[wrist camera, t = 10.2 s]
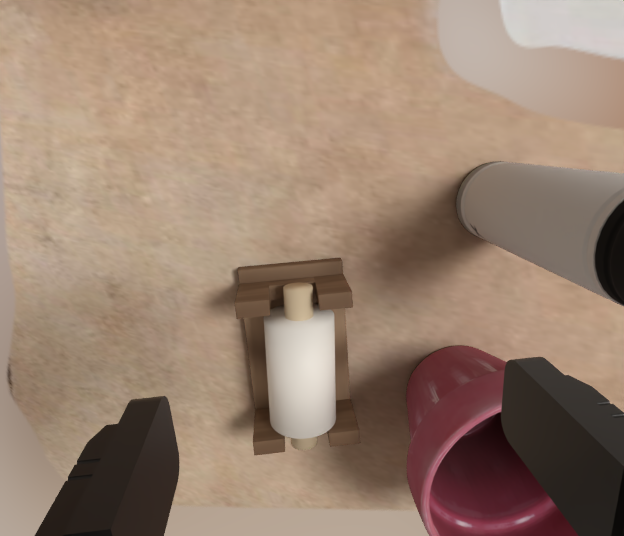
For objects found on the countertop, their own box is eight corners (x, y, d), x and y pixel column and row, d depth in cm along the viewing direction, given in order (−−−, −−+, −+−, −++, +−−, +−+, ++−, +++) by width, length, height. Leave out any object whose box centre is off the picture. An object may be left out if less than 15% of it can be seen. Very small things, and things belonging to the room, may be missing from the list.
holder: (238, 267, 37) (232, 288, 32) (340, 257, 37) (351, 277, 32) (258, 424, 41) (256, 466, 36) (349, 414, 41) (360, 454, 36)
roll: (292, 272, 37) (246, 290, 33) (347, 283, 34) (304, 304, 30) (298, 415, 41) (258, 447, 37) (348, 436, 38) (310, 473, 34)
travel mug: (455, 246, 38) (642, 355, 19) (453, 166, 36) (658, 196, 17) (528, 236, 38) (784, 334, 19) (529, 156, 36) (816, 176, 17)
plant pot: (476, 285, 39) (568, 352, 27) (555, 392, 43) (668, 495, 30) (346, 383, 41) (378, 489, 28) (433, 478, 44) (494, 609, 32)
